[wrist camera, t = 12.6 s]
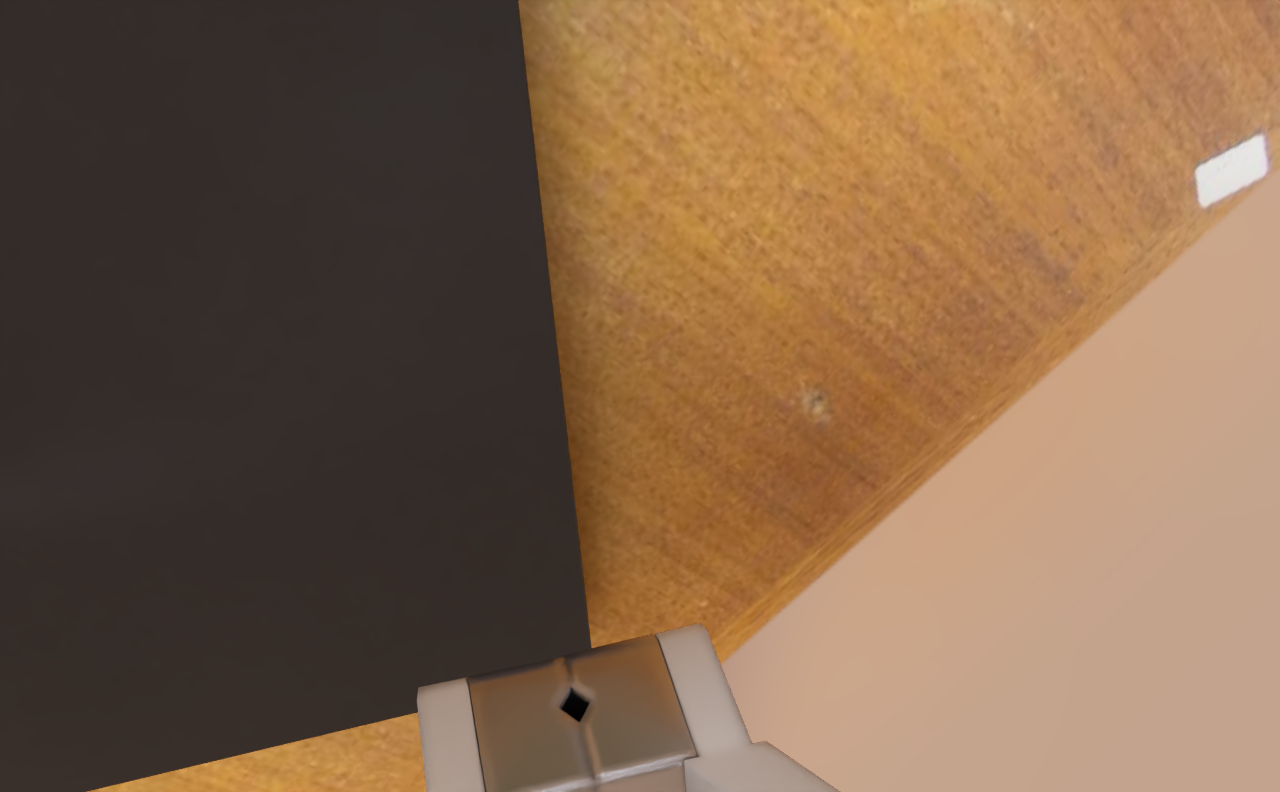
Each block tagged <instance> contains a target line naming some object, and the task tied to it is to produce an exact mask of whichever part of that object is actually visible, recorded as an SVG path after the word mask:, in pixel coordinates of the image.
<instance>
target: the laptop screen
mask: <svg viewBox="0 0 1280 792" xmlns="http://www.w3.org/2000/svg"><path fill="white" fill-rule="evenodd" d="M588 649H592V648H591V639H590V630H589V622H588V613H587V604H586V595H585V586H584V577H583V569H582V560H581V551H580V542H579V533H578V524H577V516H576V507H575V498H574V489H573V480H572V471H571V462H570V454H569V445H568V436H567V427H566V418H565V409H564V401H563V392H562V383H561V374H560V365H559V356H558V348H557V339H556V330H555V321H554V312H553V303H552V295H551V286H550V277H549V268H548V259H547V250H546V241H545V233H544V224H543V215H542V206H541V197H540V188H539V180H538V171H537V162H536V153H535V144H534V135H533V127H532V118H531V109H530V100H529V91H528V82H527V74H526V65H525V56H524V47H523V38H522V29H521V20H520V12H519V3H518V0H0V792H87V791H91V790H95V789H99V788H104V787H108V786H112V785H116V784H120V783H124V782H129V781H133V780H137V779H141V778H145V777H149V776H154V775H158V774H162V773H166V772H170V771H175V770H179V769H183V768H187V767H191V766H195V765H200V764H204V763H208V762H212V761H216V760H220V759H225V758H229V757H233V756H237V755H241V754H245V753H250V752H254V751H258V750H262V749H266V748H271V747H275V746H279V745H283V744H287V743H291V742H296V741H300V740H304V739H308V738H312V737H316V736H321V735H325V734H329V733H333V732H337V731H342V730H346V729H350V728H354V727H358V726H362V725H367V724H371V723H375V722H379V721H383V720H387V719H392V718H396V717H400V716H404V715H408V714H412V713H417V712H418V706H417V696H418V687H423V686H428V685H433V684H437V683H442V682H447V681H452V680H456V679H461V678H466V677H467V678H468V676H472V675H477V674H482V673H487V672H492V671H497V670H502V669H507V668H511V667H516V666H521V665H526V664H531V663H536V662H541V661H546V660H550V659H555V658H560V657H562V656H563V655H567V654H572V653H576V652H580V651H584V650H588ZM468 681H469V679H468Z"/></svg>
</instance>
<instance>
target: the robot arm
mask: <svg viewBox="0 0 1280 792" xmlns="http://www.w3.org/2000/svg"><path fill="white" fill-rule="evenodd" d="M468 679H469V681H468ZM417 706H418V716H419V725H420V734H421V743H422V753H423V762H424V771H425V780H426V789H427V792H840V791H838V790H837V789H835V788H834V787H832V786H831V785H829V784H828V783H826V782H825V781H824V780H822V779H821V778H819V777H818V776H816V775H815V774H814V773H812V772H811V771H809V770H808V769H806V768H805V767H803V766H802V765H800V764H799V763H798V762H796V761H794V760H793V759H792V758H790V757H789V756H787V755H786V754H784V753H783V752H782V751H780V750H779V749H777V748H776V747H774V746H773V745H771V744H770V743H768V742H767V741H763V742H758V743H753V744H752V742H751V740H750V737H749V734H748V732H747V730H746V727H745V724H744V722H743V719H742V717H741V714H740V712H739V709H738V707H737V704H736V702H735V699H734V697H733V694H732V692H731V689H730V687H729V684H728V682H727V679H726V677H725V674H724V672H723V669H722V667H721V664H720V662H719V659H718V657H717V654H716V651H715V649H714V646H713V644H712V641H711V639H710V636H709V634H708V631H707V629H706V628H705V627H704V626H703V625H702V624H701V623H698V624H694V625H690V626H686V627H681V628H677V629H673V630H669V631H664V632H660V633H656V634H655V636H654V635H653V634H650V635H646V636H642V637H637V638H633V639H629V640H625V641H621V642H617V643H613V644H609V645H605V646H600V647H596V648H592V649H588V650H584V651H580V652H576V653H572V654H567V655H563V656H562V657H560V658H555V659H550V660H546V661H541V662H536V663H531V664H526V665H521V666H516V667H511V668H507V669H502V670H497V671H492V672H487V673H482V674H477V675H472V676H468V678H467V677H466V678H461V679H456V680H452V681H447V682H442V683H437V684H433V685H428V686H423V687H418V696H417Z"/></svg>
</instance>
